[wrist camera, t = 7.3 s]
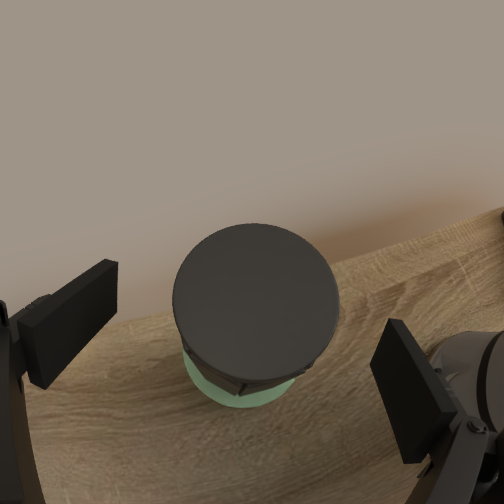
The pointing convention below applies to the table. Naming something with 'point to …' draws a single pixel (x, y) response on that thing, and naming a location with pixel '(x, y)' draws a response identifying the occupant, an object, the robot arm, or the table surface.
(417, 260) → the table surface
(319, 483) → the table surface
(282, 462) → the table surface
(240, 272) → the cap
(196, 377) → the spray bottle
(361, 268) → the table surface
